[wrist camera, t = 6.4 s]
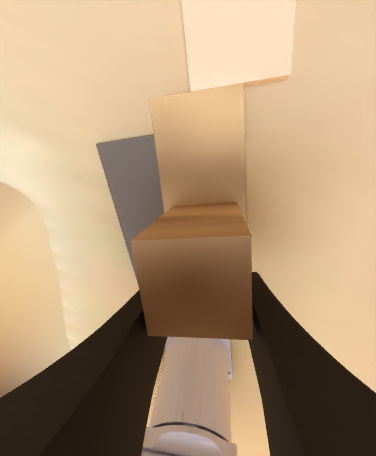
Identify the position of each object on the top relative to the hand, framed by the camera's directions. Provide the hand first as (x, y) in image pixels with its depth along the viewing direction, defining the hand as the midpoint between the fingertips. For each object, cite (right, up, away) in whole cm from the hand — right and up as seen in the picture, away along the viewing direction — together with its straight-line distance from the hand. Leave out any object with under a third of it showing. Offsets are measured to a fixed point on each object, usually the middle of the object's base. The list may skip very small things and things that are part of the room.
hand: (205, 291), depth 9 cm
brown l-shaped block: (0, +5, +2) cm, 6 cm away
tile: (+2, +12, +4) cm, 13 cm away
